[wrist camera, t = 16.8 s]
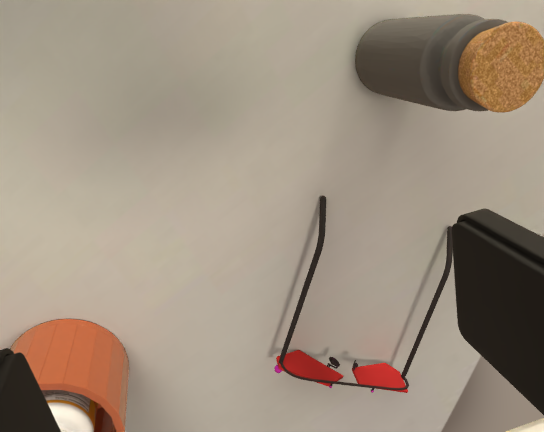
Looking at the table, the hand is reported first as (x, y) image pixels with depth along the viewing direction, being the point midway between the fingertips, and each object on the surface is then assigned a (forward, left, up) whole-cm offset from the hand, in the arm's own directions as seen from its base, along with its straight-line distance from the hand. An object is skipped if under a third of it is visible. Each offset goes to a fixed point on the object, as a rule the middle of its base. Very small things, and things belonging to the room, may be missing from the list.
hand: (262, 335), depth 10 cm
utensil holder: (+7, -23, -30) cm, 39 cm away
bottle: (+9, +15, -31) cm, 35 cm away
